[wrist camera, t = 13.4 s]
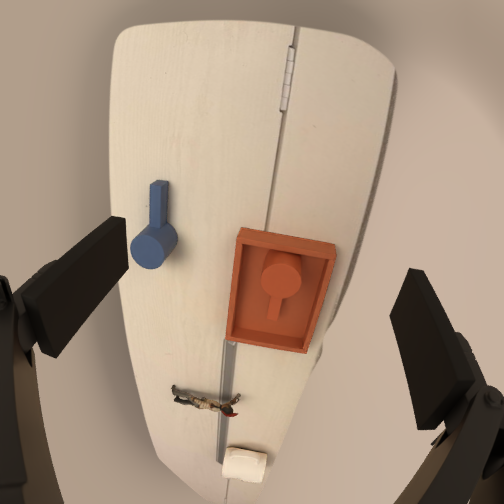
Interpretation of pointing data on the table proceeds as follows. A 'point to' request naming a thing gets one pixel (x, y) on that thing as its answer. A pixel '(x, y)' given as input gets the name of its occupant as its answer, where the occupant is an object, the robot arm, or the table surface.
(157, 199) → the blue scoop
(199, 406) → the figurine
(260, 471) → the mug
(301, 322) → the tray
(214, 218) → the table surface
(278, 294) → the terracotta scoop
